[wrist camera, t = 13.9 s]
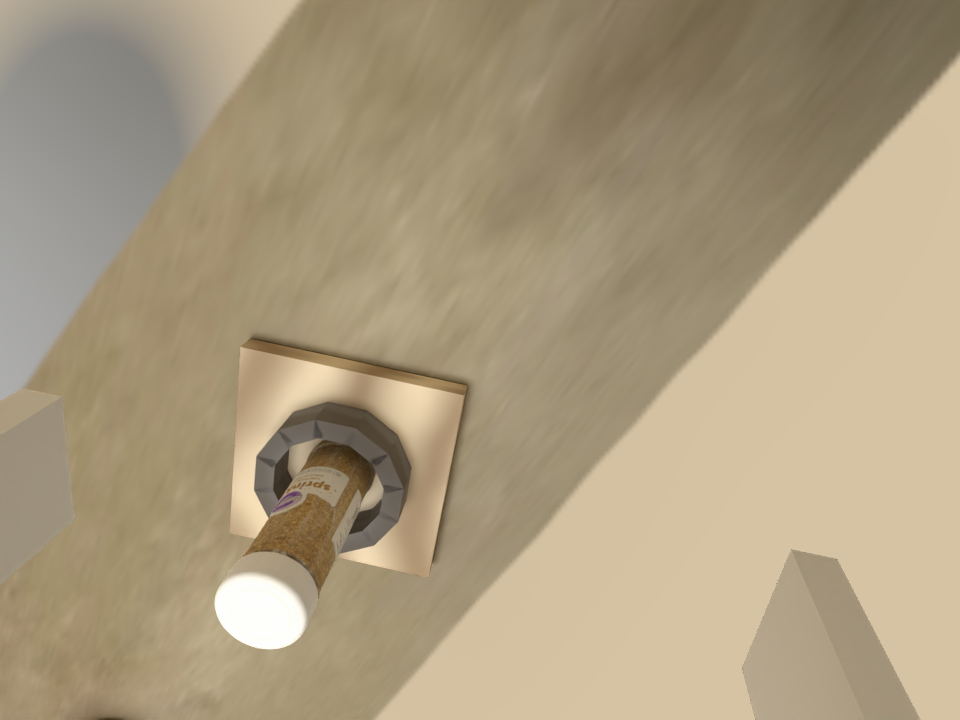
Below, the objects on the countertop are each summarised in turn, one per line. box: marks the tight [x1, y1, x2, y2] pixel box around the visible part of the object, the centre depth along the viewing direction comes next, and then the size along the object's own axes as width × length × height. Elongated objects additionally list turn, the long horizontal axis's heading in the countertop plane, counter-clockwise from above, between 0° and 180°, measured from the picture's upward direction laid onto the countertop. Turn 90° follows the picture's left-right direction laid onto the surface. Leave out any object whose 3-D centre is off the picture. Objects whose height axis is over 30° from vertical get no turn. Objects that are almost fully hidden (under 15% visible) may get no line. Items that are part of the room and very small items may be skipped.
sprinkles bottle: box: [215, 441, 375, 649], centre depth 39 cm, size 5×5×13 cm
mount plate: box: [230, 339, 467, 577], centre depth 44 cm, size 14×14×4 cm
